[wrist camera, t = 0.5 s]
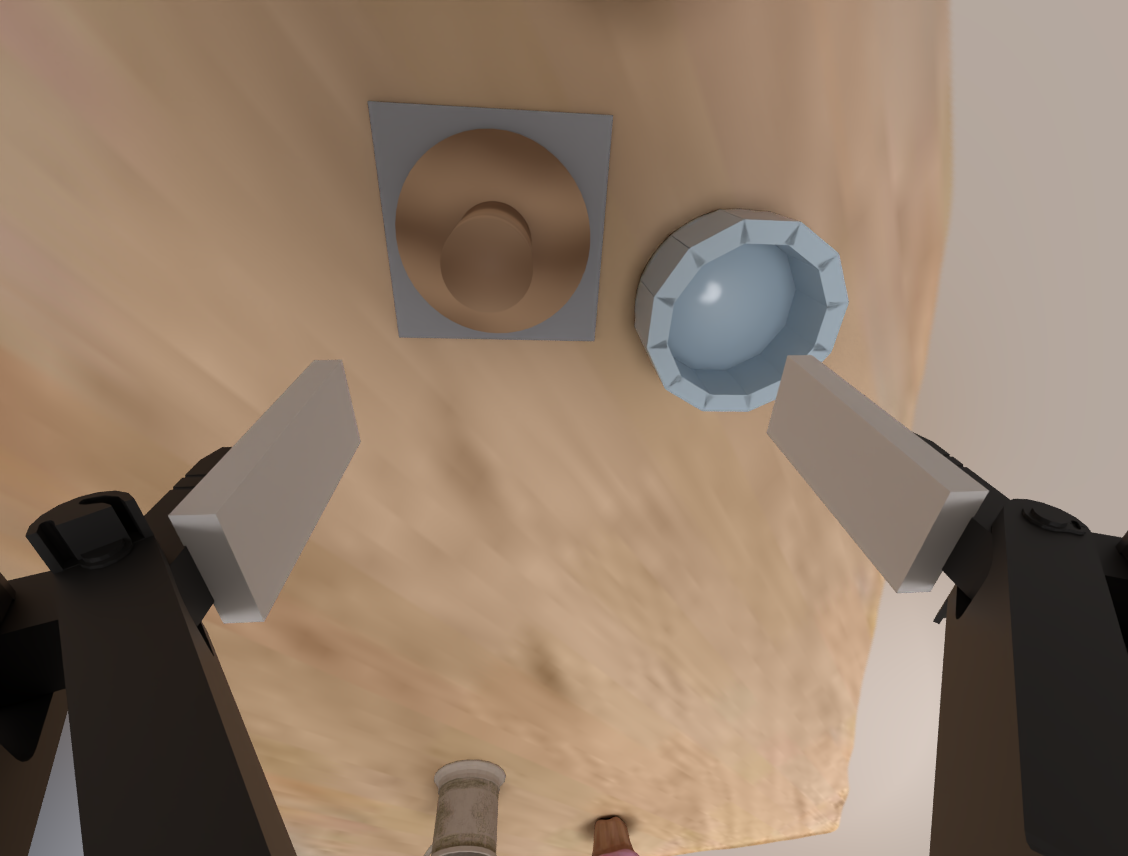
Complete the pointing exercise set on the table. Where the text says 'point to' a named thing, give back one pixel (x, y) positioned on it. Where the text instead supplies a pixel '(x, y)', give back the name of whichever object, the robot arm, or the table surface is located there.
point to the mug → (467, 809)
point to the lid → (492, 230)
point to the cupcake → (612, 839)
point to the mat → (566, 135)
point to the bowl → (737, 306)
